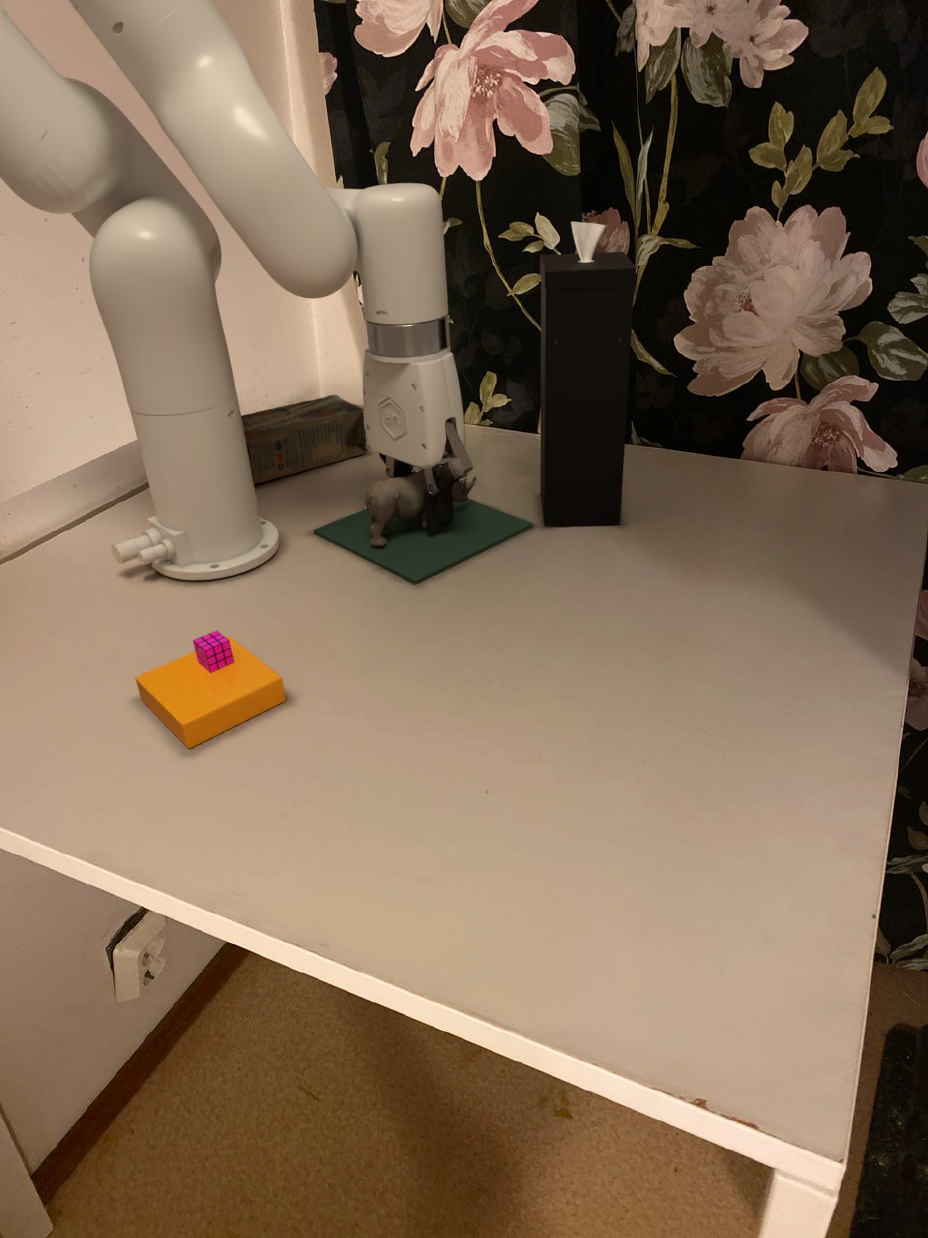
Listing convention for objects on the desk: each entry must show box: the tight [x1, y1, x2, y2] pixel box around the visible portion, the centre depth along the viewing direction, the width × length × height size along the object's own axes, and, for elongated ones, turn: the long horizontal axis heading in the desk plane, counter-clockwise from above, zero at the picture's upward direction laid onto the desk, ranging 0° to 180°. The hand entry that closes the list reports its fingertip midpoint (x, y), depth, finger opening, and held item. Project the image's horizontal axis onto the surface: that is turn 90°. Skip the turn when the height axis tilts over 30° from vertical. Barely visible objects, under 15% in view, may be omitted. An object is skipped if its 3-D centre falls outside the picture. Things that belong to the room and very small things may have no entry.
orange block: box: [134, 630, 287, 749], centre depth 64 cm, size 8×8×4 cm
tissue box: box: [539, 221, 637, 527], centre depth 84 cm, size 8×8×28 cm
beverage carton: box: [241, 394, 368, 485], centre depth 104 cm, size 8×19×7 cm, turn 126°
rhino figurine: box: [364, 465, 477, 546], centre depth 87 cm, size 4×14×6 cm, turn 126°
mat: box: [313, 497, 534, 585], centre depth 89 cm, size 16×16×1 cm
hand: (423, 517), depth 88 cm, fingers closed on rhino figurine, 4 cm apart
